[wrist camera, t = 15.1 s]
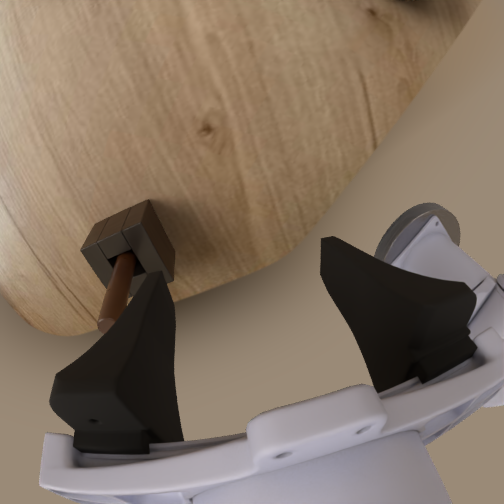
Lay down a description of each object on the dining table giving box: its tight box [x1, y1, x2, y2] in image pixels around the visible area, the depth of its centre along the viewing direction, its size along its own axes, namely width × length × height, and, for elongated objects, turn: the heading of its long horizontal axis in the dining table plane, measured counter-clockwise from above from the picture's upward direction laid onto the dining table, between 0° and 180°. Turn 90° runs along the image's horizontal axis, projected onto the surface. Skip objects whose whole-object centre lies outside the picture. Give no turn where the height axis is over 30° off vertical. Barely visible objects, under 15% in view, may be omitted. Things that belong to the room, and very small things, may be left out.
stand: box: [80, 200, 175, 298], centre depth 20 cm, size 5×5×4 cm
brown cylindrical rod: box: [97, 249, 137, 334], centre depth 18 cm, size 1×1×10 cm
